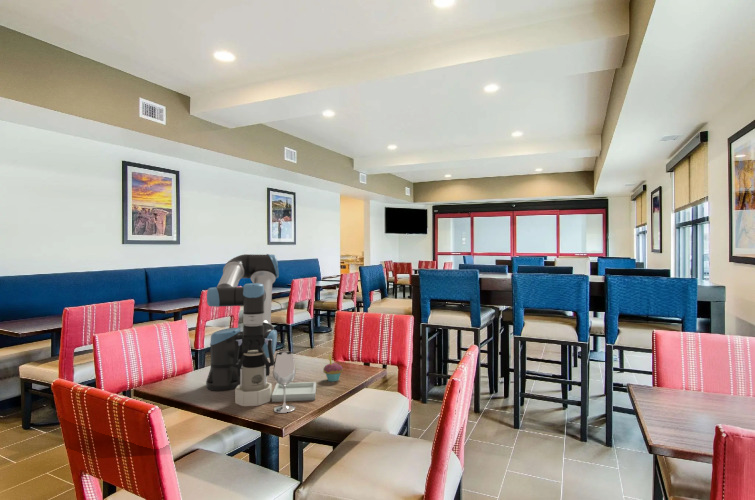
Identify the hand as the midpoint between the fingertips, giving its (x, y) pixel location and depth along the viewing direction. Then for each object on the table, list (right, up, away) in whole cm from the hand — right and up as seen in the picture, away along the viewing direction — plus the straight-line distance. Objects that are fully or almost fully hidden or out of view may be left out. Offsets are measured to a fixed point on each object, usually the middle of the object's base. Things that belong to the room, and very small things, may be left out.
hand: (253, 384), depth 157 cm
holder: (0, -6, 0) cm, 6 cm away
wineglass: (+14, -6, -9) cm, 18 cm away
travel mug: (0, -6, 0) cm, 6 cm away
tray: (+14, -6, +6) cm, 17 cm away
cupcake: (+27, -6, +24) cm, 37 cm away
